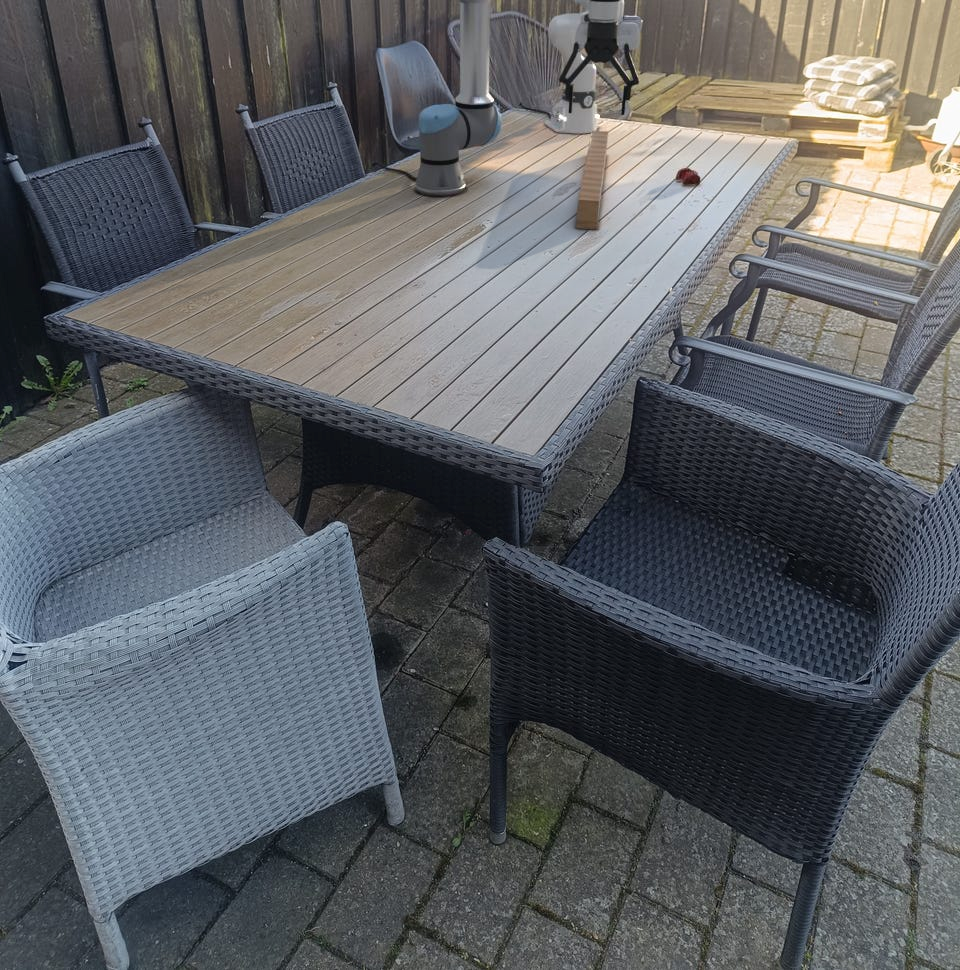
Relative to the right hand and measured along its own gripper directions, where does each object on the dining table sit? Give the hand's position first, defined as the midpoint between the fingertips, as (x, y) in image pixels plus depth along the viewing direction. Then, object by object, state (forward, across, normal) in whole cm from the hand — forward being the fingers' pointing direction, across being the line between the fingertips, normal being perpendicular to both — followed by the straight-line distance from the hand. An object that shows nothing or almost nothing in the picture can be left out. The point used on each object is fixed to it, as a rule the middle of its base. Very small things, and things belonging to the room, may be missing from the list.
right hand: (605, 64), depth 268 cm
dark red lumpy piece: (+30, -29, +22) cm, 47 cm away
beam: (+29, 0, +31) cm, 43 cm away
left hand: (+1, 0, +62) cm, 62 cm away
